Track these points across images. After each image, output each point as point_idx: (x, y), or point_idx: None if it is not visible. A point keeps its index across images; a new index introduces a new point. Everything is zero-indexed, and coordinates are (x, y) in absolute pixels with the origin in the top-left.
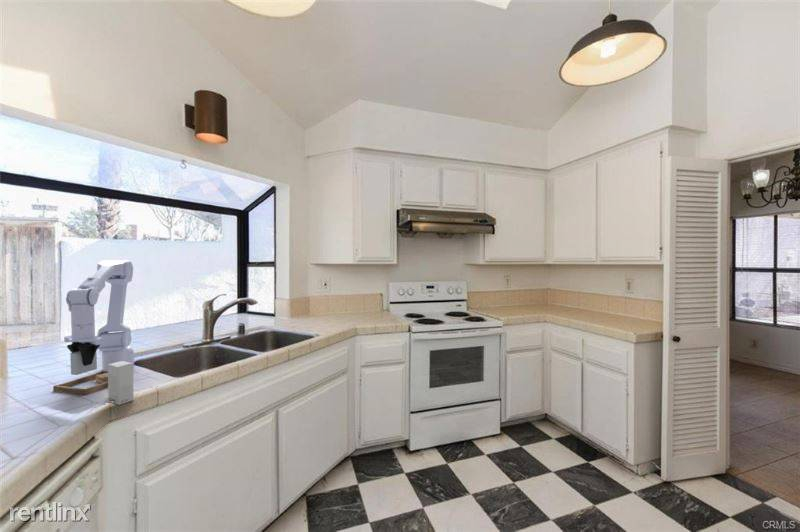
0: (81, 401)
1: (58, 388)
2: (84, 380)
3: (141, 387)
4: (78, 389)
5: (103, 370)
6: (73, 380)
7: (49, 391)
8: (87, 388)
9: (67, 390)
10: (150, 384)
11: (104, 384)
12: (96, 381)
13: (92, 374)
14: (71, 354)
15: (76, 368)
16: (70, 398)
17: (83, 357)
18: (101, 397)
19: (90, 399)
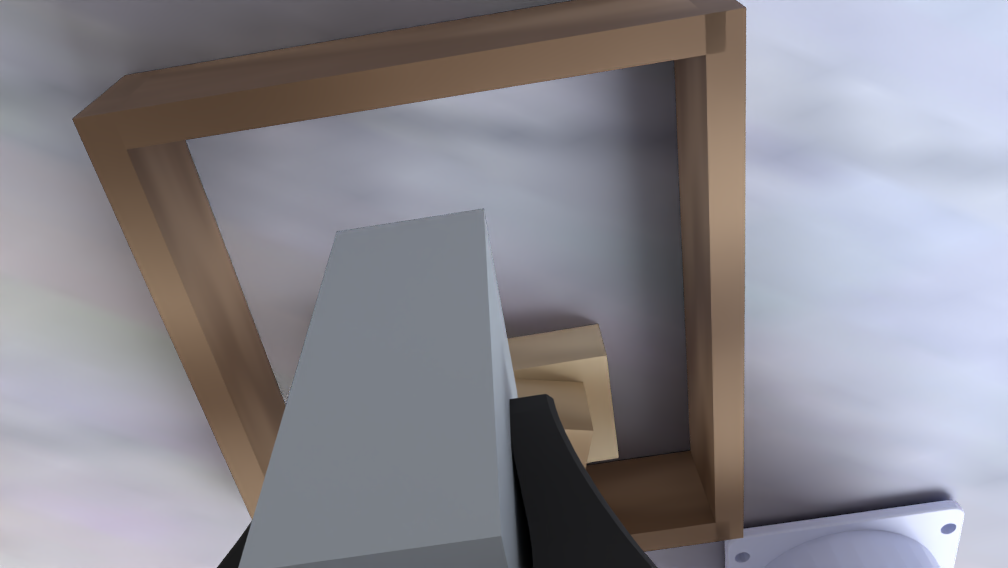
0: (83, 25)
1: (627, 21)
2: (699, 332)
3: (39, 494)
4: (197, 99)
5: (877, 553)
6: (720, 247)
7: (921, 25)
8: (130, 173)
9: (430, 48)
10: (66, 558)
11: (180, 344)
12: (555, 378)
13: (731, 440)
14: (455, 516)
15: (321, 301)
16: (348, 17)
17: (238, 560)
18: (38, 196)
19: (70, 109)
